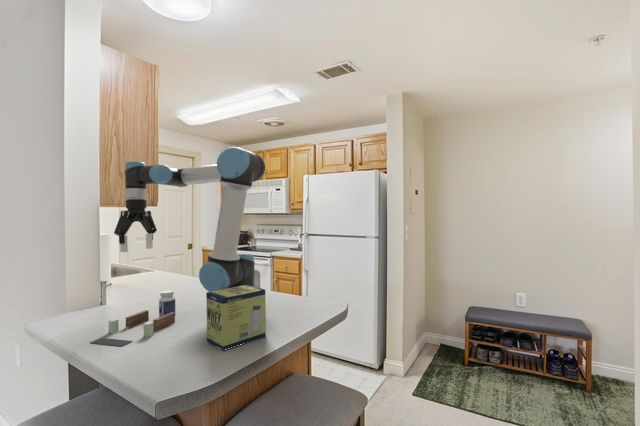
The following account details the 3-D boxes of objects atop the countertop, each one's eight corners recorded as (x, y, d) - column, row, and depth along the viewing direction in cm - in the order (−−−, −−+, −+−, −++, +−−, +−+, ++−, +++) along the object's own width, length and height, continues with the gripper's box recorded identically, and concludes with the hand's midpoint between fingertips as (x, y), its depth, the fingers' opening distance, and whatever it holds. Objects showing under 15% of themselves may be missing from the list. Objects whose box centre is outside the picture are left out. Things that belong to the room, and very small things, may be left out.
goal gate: (153, 334, 107) (153, 322, 107) (148, 336, 105) (148, 324, 105) (113, 330, 111) (113, 319, 111) (108, 332, 109) (108, 320, 109)
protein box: (205, 342, 101) (205, 292, 101) (248, 329, 112) (248, 284, 112) (222, 352, 93) (222, 297, 93) (266, 337, 105) (266, 288, 105)
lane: (174, 322, 120) (174, 312, 120) (157, 330, 111) (157, 320, 111) (145, 319, 123) (145, 310, 123) (125, 327, 114) (125, 317, 114)
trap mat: (132, 341, 101) (132, 341, 101) (121, 346, 97) (121, 346, 97) (101, 338, 104) (101, 337, 104) (89, 343, 100) (89, 342, 100)
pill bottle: (178, 315, 128) (178, 290, 128) (170, 320, 122) (170, 293, 122) (164, 315, 128) (164, 289, 128) (155, 319, 123) (155, 293, 123)
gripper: (150, 200, 149) (151, 247, 148) (102, 198, 124) (103, 253, 124) (164, 200, 147) (165, 247, 147) (118, 197, 123) (120, 253, 122)
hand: (137, 250), depth 135 cm, fingers open, 13 cm apart
